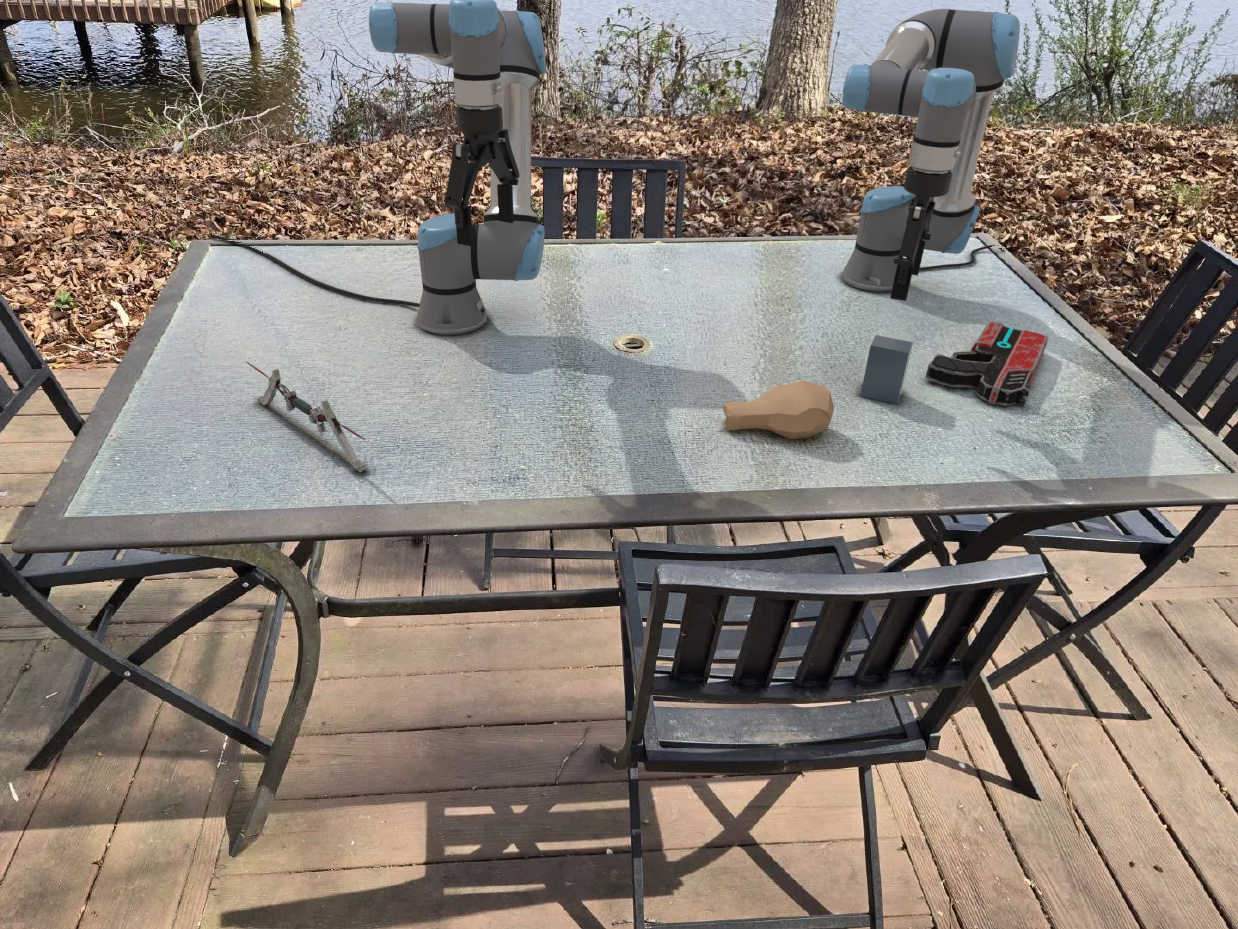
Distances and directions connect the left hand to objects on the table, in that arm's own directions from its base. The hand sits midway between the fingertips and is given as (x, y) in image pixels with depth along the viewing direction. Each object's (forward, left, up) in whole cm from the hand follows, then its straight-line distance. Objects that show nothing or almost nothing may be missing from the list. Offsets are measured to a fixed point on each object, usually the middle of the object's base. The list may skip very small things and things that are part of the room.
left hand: (486, 232), depth 154 cm
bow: (-8, -35, -31) cm, 48 cm away
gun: (+62, +82, -31) cm, 107 cm away
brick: (+52, +55, -31) cm, 82 cm away
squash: (+47, +29, -31) cm, 63 cm away
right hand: (+52, +55, -8) cm, 77 cm away
